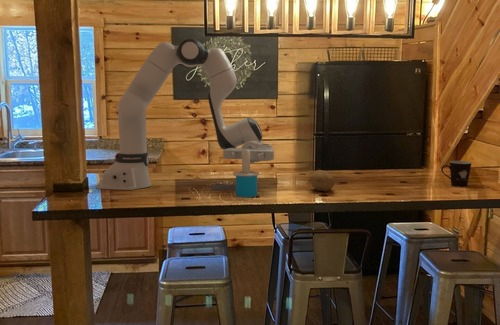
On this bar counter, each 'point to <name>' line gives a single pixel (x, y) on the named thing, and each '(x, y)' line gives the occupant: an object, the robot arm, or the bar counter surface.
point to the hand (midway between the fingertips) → (246, 156)
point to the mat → (223, 187)
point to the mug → (246, 186)
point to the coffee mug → (459, 173)
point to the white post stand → (246, 166)
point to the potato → (322, 180)
